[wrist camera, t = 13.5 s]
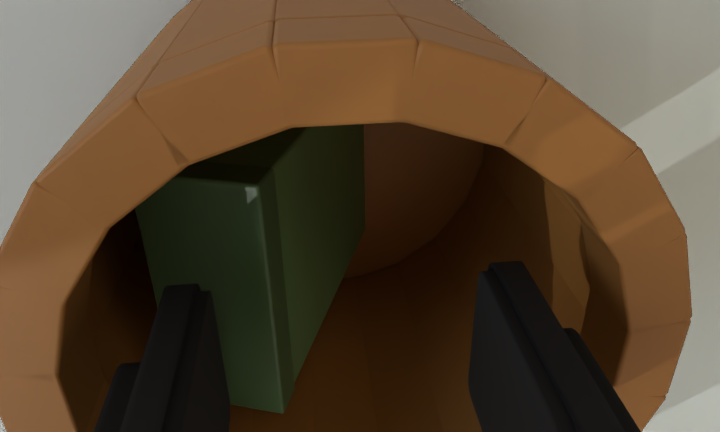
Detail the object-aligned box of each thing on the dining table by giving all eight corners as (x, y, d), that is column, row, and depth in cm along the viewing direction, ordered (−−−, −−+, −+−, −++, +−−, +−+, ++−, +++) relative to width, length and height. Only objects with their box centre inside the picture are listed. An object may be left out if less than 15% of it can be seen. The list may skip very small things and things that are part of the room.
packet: (292, 223, 20) (176, 395, 14) (279, 58, 18) (125, 171, 11) (367, 231, 20) (284, 415, 13) (365, 62, 17) (259, 185, 10)
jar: (174, 293, 22) (85, 613, 12) (104, -46, 16) (-159, 61, 7) (480, 271, 23) (617, 553, 13) (513, -57, 17) (790, 24, 8)
